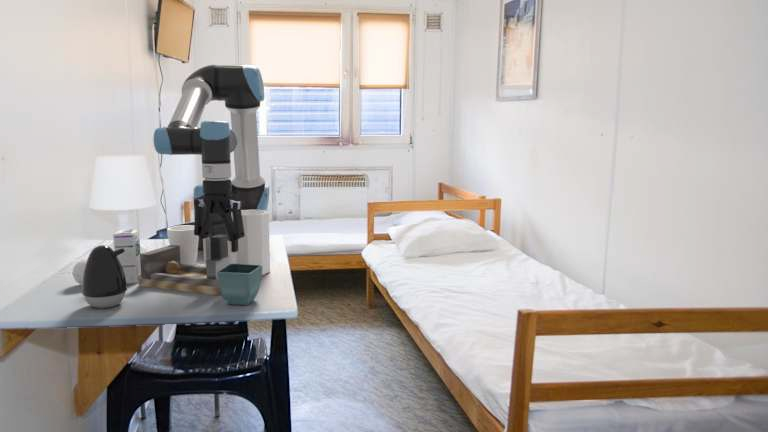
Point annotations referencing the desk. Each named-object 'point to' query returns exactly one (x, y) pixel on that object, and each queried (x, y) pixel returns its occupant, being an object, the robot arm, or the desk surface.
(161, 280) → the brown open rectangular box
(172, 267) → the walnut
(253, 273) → the flower pot
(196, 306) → the desk surface
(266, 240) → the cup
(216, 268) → the block
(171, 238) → the foam cup
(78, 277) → the white ball
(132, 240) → the syrup box
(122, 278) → the pump dispenser
